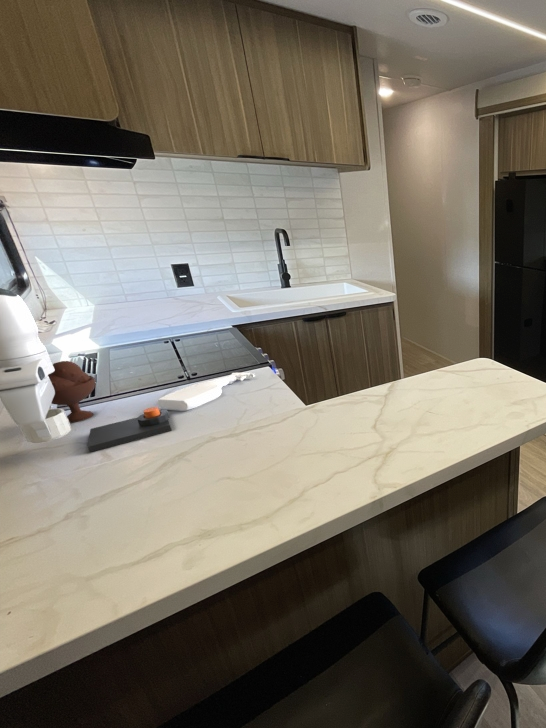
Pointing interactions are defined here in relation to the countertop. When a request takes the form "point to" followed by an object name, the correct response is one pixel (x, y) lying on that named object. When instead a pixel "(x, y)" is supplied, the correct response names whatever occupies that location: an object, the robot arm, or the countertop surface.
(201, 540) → the countertop surface
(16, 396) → the robot arm
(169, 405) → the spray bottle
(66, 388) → the ice cream bowl
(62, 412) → the small bowl
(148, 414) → the button
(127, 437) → the scale
